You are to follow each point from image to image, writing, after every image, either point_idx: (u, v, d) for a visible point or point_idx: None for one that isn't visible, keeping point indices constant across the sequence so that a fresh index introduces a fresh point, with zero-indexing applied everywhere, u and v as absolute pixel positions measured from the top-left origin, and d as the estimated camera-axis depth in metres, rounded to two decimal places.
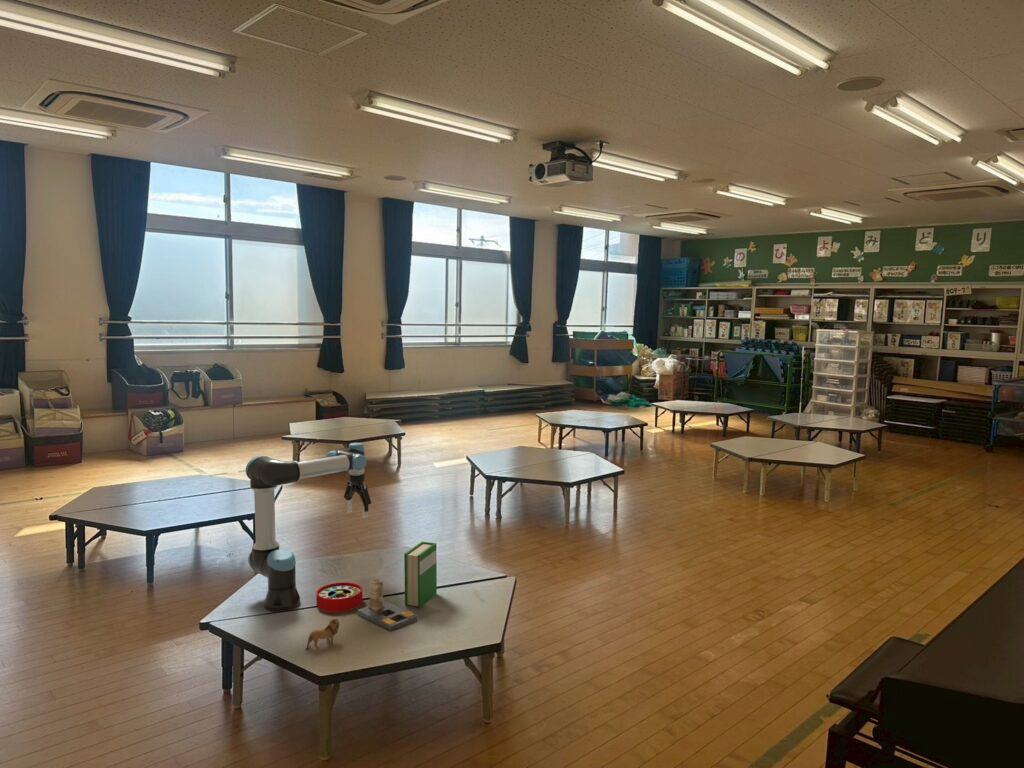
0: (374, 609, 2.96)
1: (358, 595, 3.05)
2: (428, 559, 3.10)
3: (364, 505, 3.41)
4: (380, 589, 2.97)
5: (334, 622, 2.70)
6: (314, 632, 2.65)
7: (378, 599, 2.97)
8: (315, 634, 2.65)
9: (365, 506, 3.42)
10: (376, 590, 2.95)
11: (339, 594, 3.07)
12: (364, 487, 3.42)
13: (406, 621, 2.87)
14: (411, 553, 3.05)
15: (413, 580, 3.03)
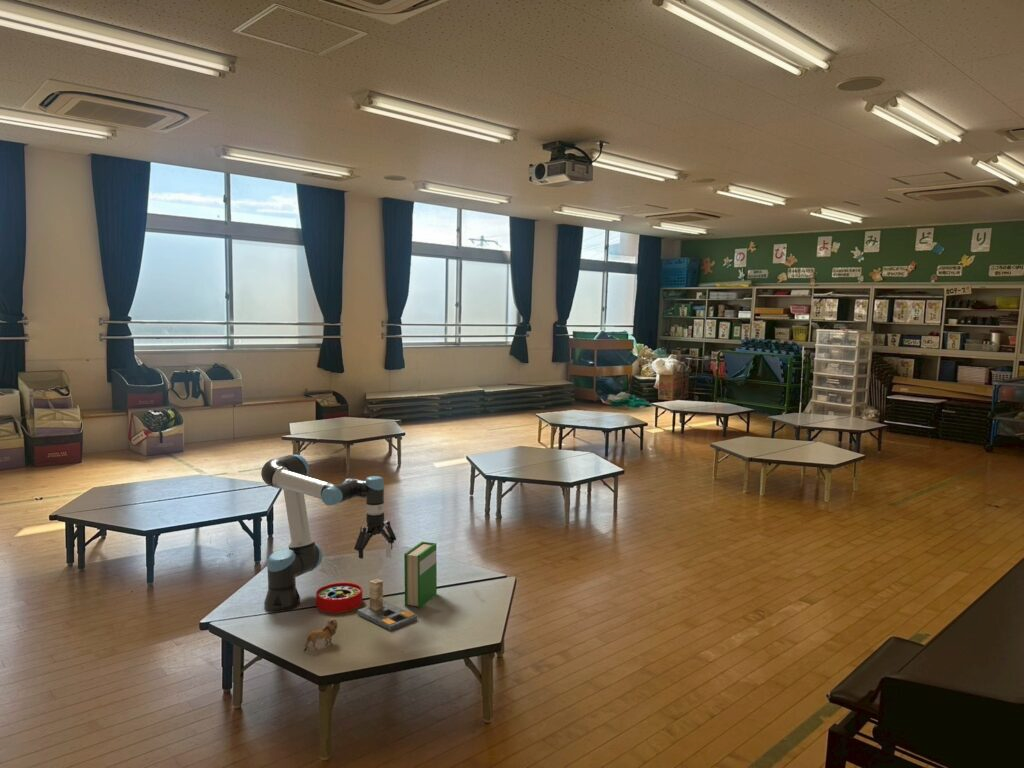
0: (374, 609, 2.96)
1: (358, 595, 3.04)
2: (428, 559, 3.10)
3: None
4: (380, 589, 2.97)
5: (332, 623, 2.69)
6: (312, 633, 2.65)
7: (378, 599, 2.97)
8: (313, 635, 2.64)
9: (359, 551, 2.91)
10: (376, 590, 2.95)
11: (339, 594, 3.07)
12: (361, 529, 2.91)
13: (406, 621, 2.87)
14: (411, 553, 3.05)
15: (413, 580, 3.03)
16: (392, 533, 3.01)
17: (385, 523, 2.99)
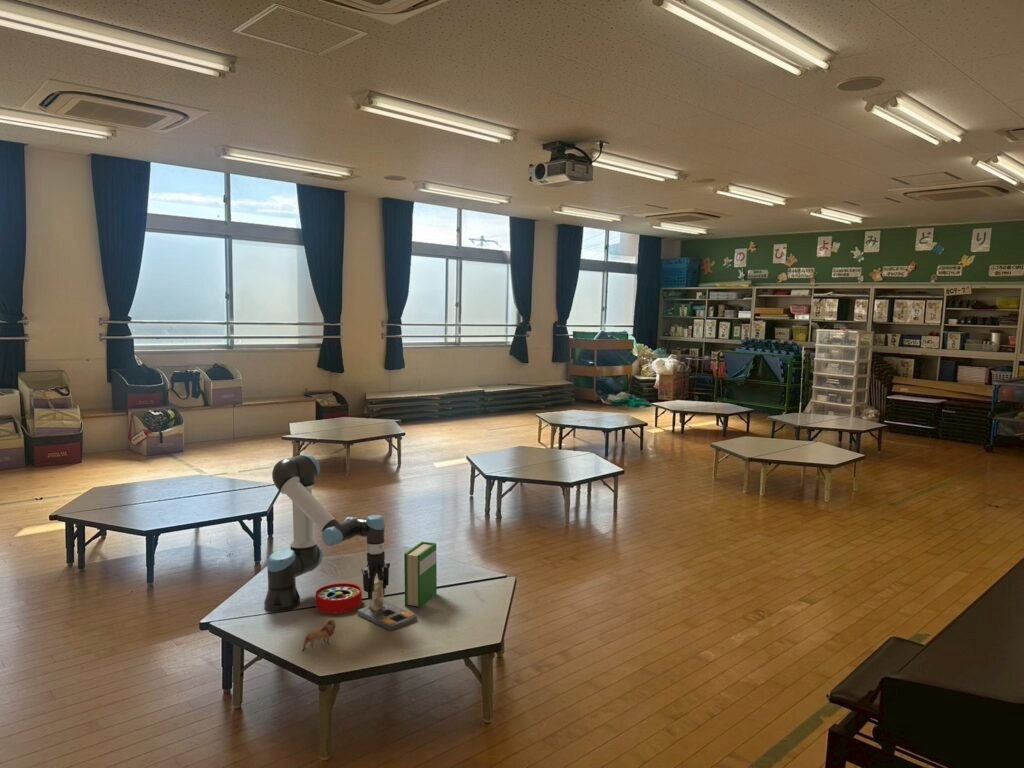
0: (374, 609, 2.96)
1: (357, 596, 3.04)
2: (428, 559, 3.10)
3: None
4: (380, 589, 2.97)
5: (330, 623, 2.69)
6: (310, 633, 2.64)
7: (378, 599, 2.97)
8: (312, 635, 2.64)
9: None
10: (376, 590, 2.95)
11: (338, 595, 3.06)
12: (363, 572, 2.92)
13: (406, 621, 2.87)
14: (411, 553, 3.05)
15: (413, 580, 3.03)
16: (387, 577, 3.00)
17: (385, 563, 3.00)
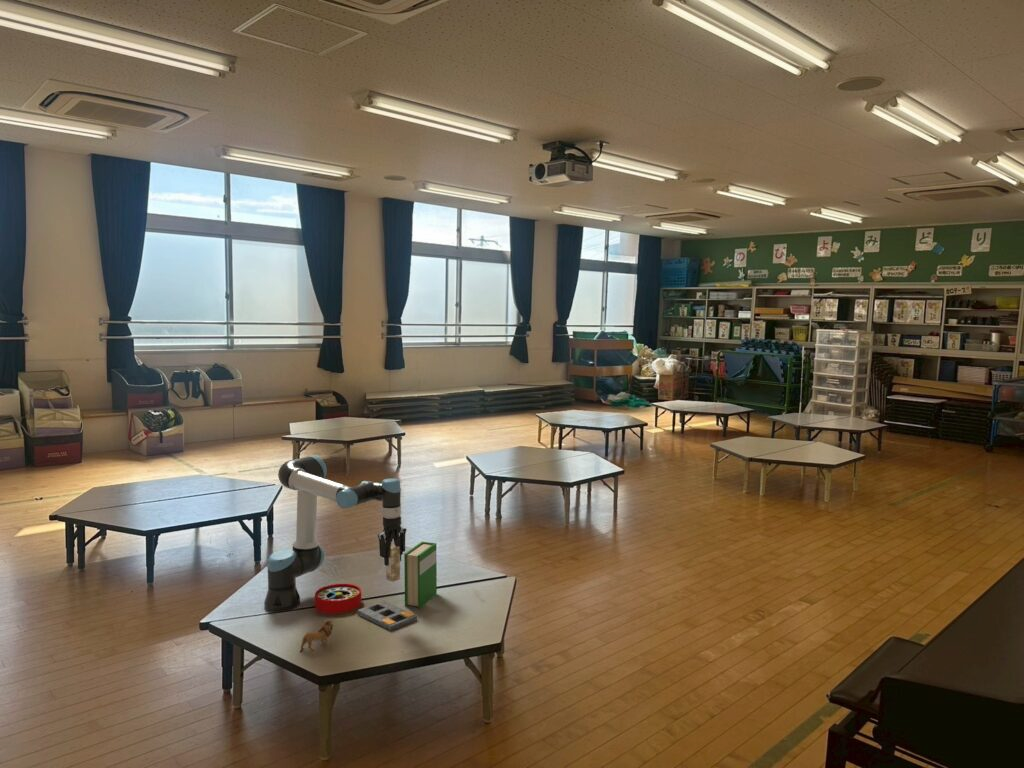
0: (391, 575, 2.87)
1: (357, 596, 3.03)
2: (428, 559, 3.10)
3: None
4: (397, 555, 2.88)
5: (328, 624, 2.68)
6: (308, 634, 2.63)
7: (395, 566, 2.87)
8: (309, 636, 2.63)
9: None
10: (393, 556, 2.86)
11: (338, 595, 3.05)
12: (379, 537, 2.83)
13: (406, 621, 2.87)
14: (411, 553, 3.05)
15: (413, 580, 3.03)
16: (404, 543, 2.91)
17: (401, 529, 2.91)
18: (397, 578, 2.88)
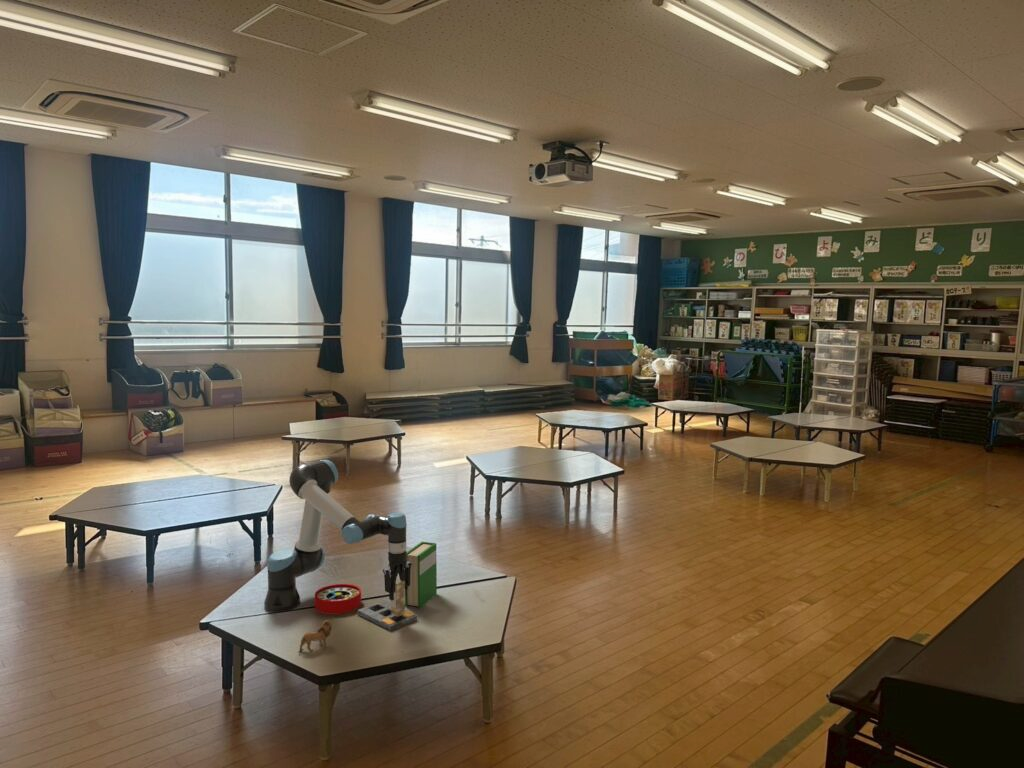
0: (396, 610, 2.86)
1: (357, 597, 3.03)
2: (428, 559, 3.10)
3: None
4: (402, 590, 2.86)
5: (327, 624, 2.68)
6: (307, 634, 2.63)
7: (400, 600, 2.86)
8: (308, 636, 2.63)
9: (390, 593, 2.85)
10: (398, 591, 2.85)
11: (338, 596, 3.05)
12: (384, 572, 2.82)
13: (406, 621, 2.87)
14: (411, 553, 3.05)
15: (413, 580, 3.03)
16: (409, 577, 2.90)
17: (407, 563, 2.90)
18: (402, 612, 2.87)
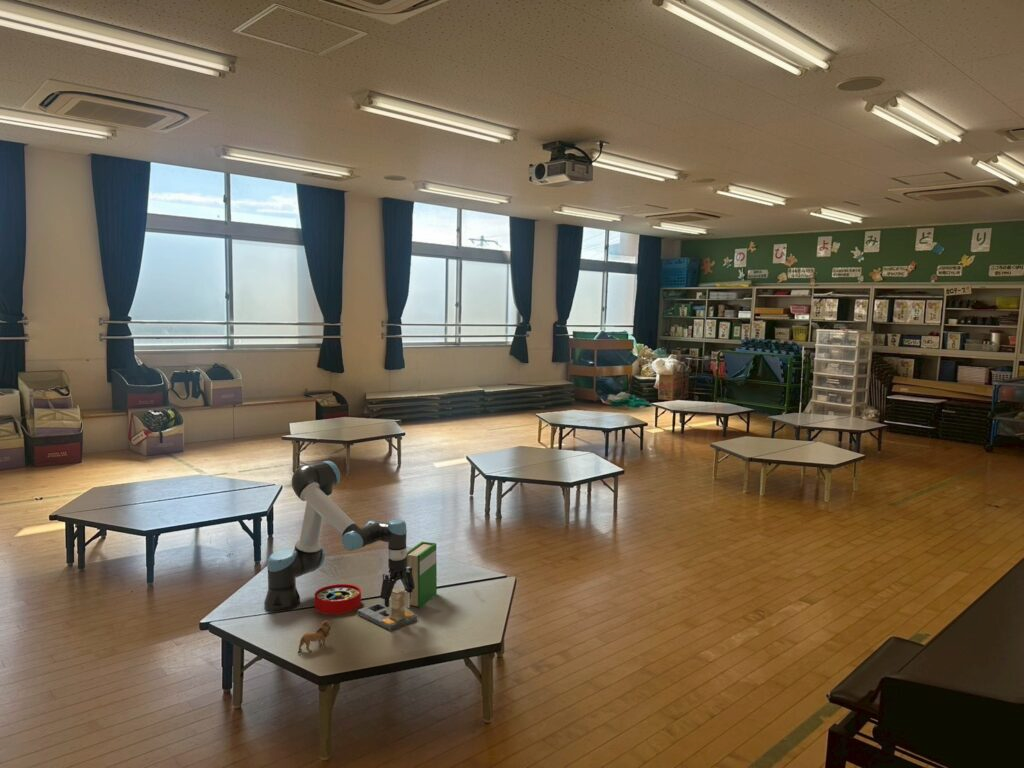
0: (396, 619, 2.86)
1: (357, 597, 3.03)
2: (428, 559, 3.10)
3: None
4: (402, 599, 2.87)
5: (326, 624, 2.68)
6: (306, 635, 2.63)
7: (400, 609, 2.86)
8: (307, 637, 2.62)
9: (385, 599, 2.84)
10: (398, 600, 2.85)
11: (338, 596, 3.05)
12: (383, 577, 2.82)
13: (406, 621, 2.87)
14: (411, 553, 3.05)
15: (413, 580, 3.03)
16: (412, 581, 2.91)
17: (407, 569, 2.90)
18: None
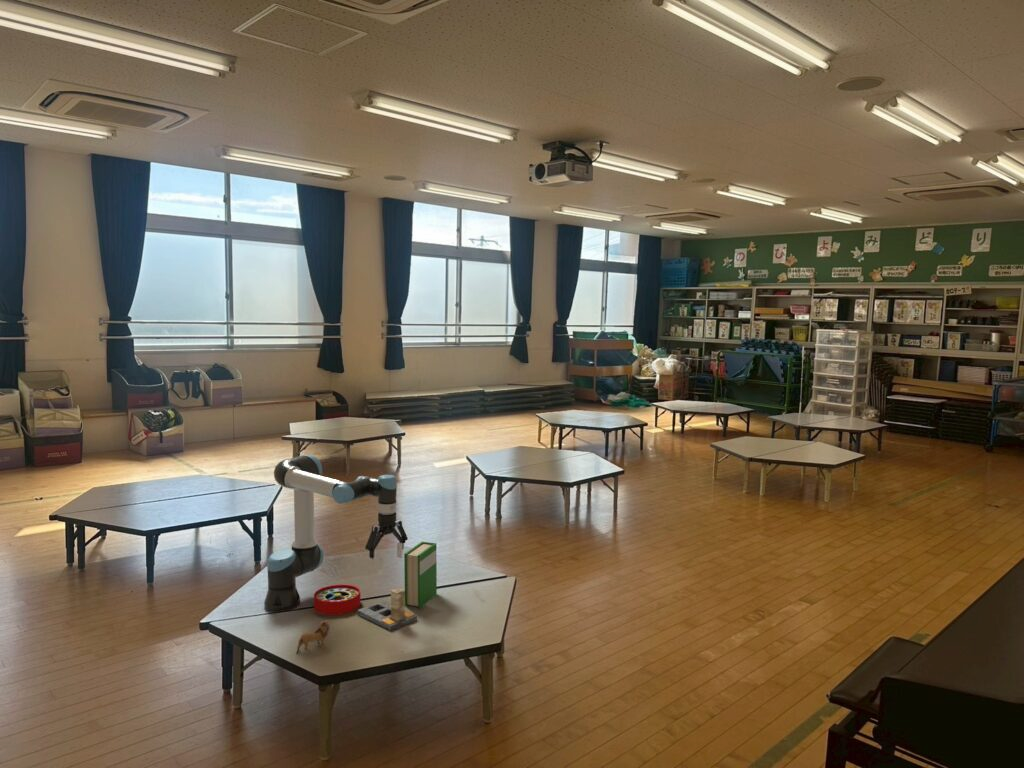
0: (396, 619, 2.86)
1: (356, 597, 3.02)
2: (428, 559, 3.10)
3: None
4: (402, 599, 2.87)
5: (324, 625, 2.67)
6: (304, 635, 2.62)
7: (400, 609, 2.86)
8: (306, 637, 2.62)
9: None
10: (398, 600, 2.85)
11: (337, 596, 3.04)
12: (373, 528, 2.85)
13: (406, 621, 2.87)
14: (411, 553, 3.05)
15: (413, 580, 3.03)
16: (404, 533, 2.95)
17: (397, 523, 2.93)
18: None
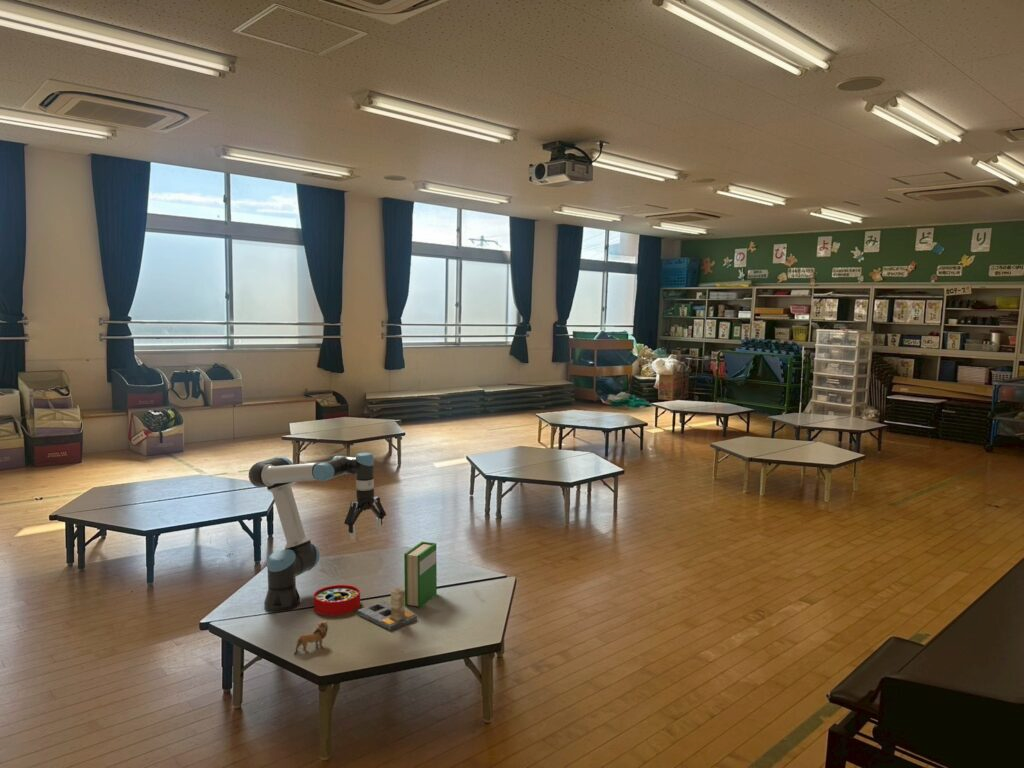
0: (396, 619, 2.86)
1: (356, 598, 3.02)
2: (428, 559, 3.10)
3: None
4: (402, 599, 2.87)
5: (323, 625, 2.67)
6: (303, 636, 2.62)
7: (400, 609, 2.86)
8: (304, 638, 2.61)
9: (349, 526, 2.96)
10: (398, 600, 2.85)
11: (337, 597, 3.04)
12: (351, 504, 2.96)
13: (406, 621, 2.87)
14: (411, 553, 3.05)
15: (413, 580, 3.03)
16: (382, 509, 3.06)
17: (375, 499, 3.04)
18: None
